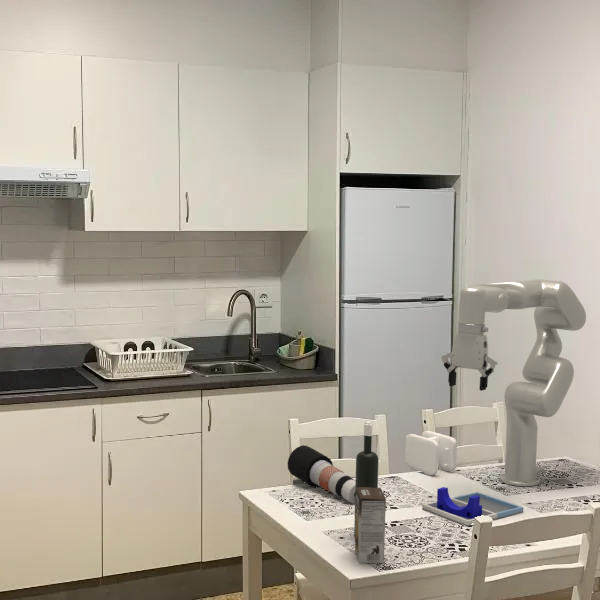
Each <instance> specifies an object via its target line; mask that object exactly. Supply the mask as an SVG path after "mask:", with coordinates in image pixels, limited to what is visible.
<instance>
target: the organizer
mask: <svg viewBox="0 0 600 600" xmlns="http://www.w3.org/2000/svg"><path fill="white" fill-rule="evenodd" d="M404 449H405V450H404V452H405V453H404V464H405V465H406V466H407V467H408V468H410V470H412V471H416V472H422V473H423V474H424V473H426V474H425V475H426V476H427V475H428V476H433V475H436V474H438V472H439V469H440V470H442V471H445V472H448V473H449V472H451V471H454V470H456V469H457V455H458V454H457V452H458V442H457V440H456V438H454V437H452V436H450V435H447V434H443V433H438V432H434V431H431V430H426V431H423V432H422V434H421V435H418V434H415V433H411V434H410V433H409V434H407V435H406V436H405V448H404Z"/></svg>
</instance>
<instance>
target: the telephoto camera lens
mask: <svg viewBox="0 0 600 600" xmlns="http://www.w3.org/2000/svg"><path fill="white" fill-rule="evenodd" d="M332 461H333V460H331V458H329V457H328V456H326V455H324V454H323V453H321V452H319V451H317V450H316V449H314V448H313V447H310V446H308V445H304V444H303V445H301V446H297V447H296V448H295V449H293V450H292V451H291V453H290V455H289V456H288V460H287V470H288V471H289V473H290V474H291V475H292V476H293V477H295V478H296V479H298V480H300V481H301V482H303V483H304V484H306V485H308V486H309V487H312V488H314V489H315V488H316V487H317V488H322V489H323V490H326V491H327V492H330V493H331V494H334V495H336V496H338V497H340V498H342V499H343V500H346V501H347V502H350V503H351V504H354V505H355V484H356V479H354V478H352V477H351V476H350V475H348V474H346V473H345V472H344V471H343V470H341V469H339V468H337V467H335V466H334V464H333V462H332ZM317 488H316V489H317Z"/></svg>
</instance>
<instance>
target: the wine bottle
mask: <svg viewBox="0 0 600 600" xmlns="http://www.w3.org/2000/svg"><path fill="white" fill-rule="evenodd" d="M372 437H373V422H372V421H366V422H364V423H363V450H362V451H360V452H359V453H357V455H356V457H355V458H356V459H355V480H356V484H355V504H354V514H355V513H356V487H371V488H379V455H377V453H376V452H374V451H372V445H373V444H372V443H373V439H372ZM353 531H354V532H353V536H354V537H355V522H354V529H353Z"/></svg>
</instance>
